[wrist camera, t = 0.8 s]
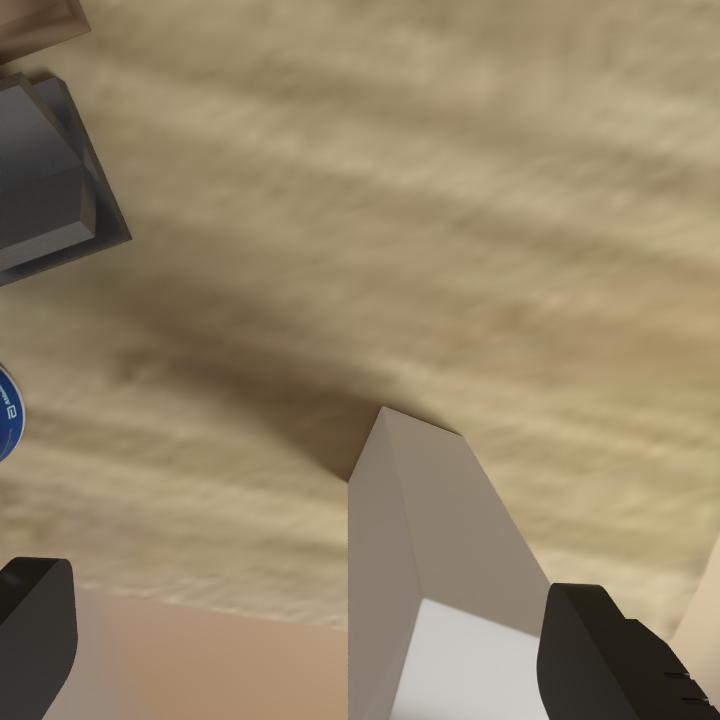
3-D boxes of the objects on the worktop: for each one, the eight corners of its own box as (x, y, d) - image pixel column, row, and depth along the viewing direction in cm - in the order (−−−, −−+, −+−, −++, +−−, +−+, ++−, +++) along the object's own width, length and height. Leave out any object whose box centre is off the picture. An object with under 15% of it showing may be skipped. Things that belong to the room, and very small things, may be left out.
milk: (381, 404, 34) (438, 676, 13) (466, 437, 35) (656, 749, 14) (346, 485, 36) (343, 859, 14) (429, 516, 36) (548, 918, 15)
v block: (64, 81, 30) (17, 55, 25) (132, 239, 32) (98, 239, 27) (-82, 137, 30) (-153, 120, 26) (-7, 288, 32) (-61, 296, 28)
